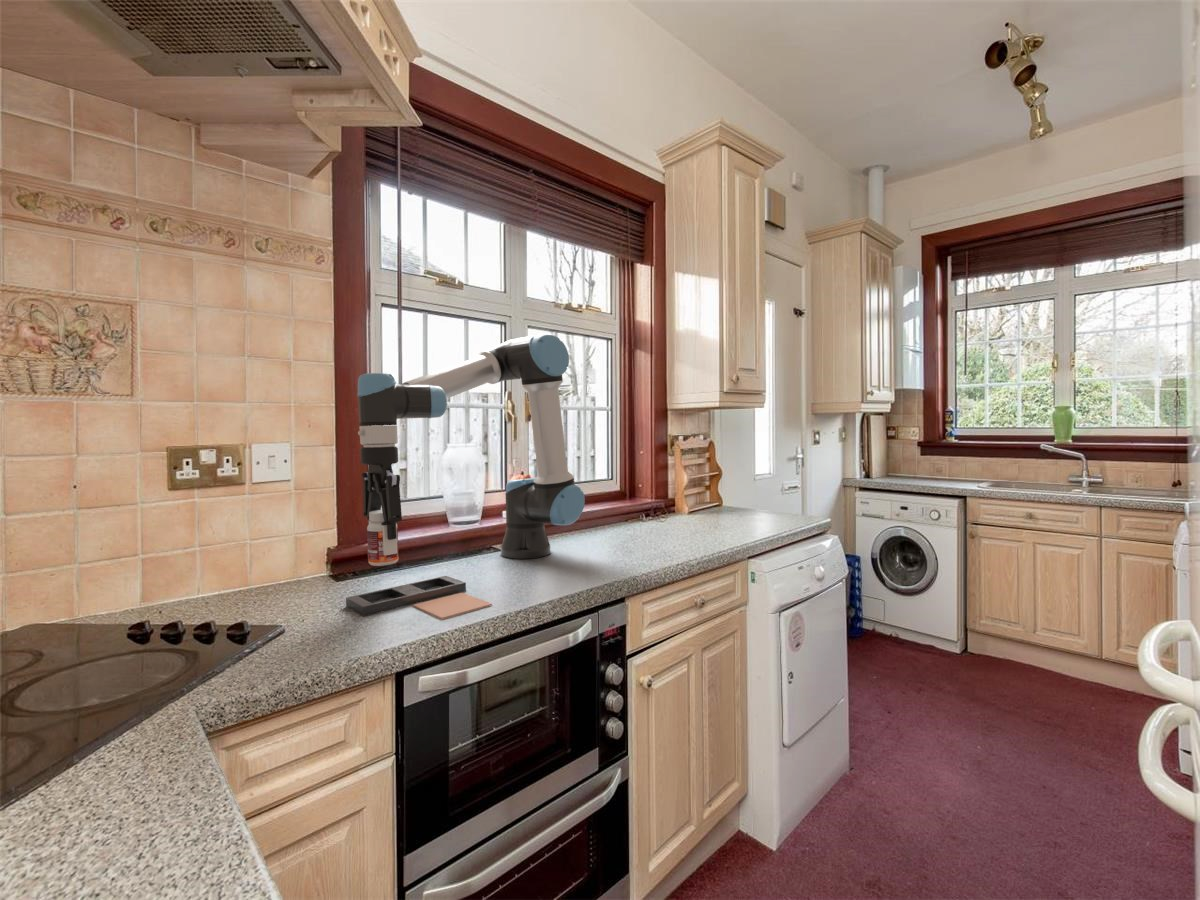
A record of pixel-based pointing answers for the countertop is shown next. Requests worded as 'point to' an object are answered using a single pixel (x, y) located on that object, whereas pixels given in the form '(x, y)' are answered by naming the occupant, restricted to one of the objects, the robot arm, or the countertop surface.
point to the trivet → (451, 605)
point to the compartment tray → (404, 595)
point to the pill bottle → (378, 541)
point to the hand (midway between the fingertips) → (383, 551)
